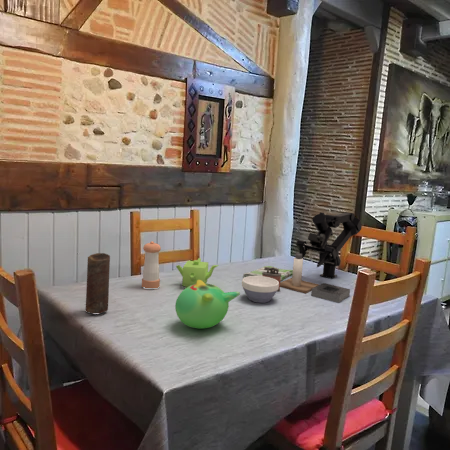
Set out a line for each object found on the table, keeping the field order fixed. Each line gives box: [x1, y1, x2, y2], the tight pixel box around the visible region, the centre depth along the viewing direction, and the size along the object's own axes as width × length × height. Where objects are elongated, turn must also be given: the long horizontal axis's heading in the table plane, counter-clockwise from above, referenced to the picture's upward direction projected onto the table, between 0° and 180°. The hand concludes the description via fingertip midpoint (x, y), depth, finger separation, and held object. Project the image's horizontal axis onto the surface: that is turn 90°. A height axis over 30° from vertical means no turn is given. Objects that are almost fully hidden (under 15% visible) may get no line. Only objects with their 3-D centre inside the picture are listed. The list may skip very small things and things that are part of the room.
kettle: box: [175, 257, 219, 289], centre depth 184 cm, size 15×14×11 cm
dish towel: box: [242, 265, 293, 282], centre depth 208 cm, size 17×23×4 cm
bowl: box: [241, 276, 279, 304], centre depth 172 cm, size 14×14×8 cm
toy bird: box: [174, 280, 241, 330], centre depth 141 cm, size 18×17×15 cm
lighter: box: [262, 266, 281, 293], centre depth 185 cm, size 8×3×10 cm, turn 84°
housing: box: [310, 282, 351, 304], centre depth 183 cm, size 12×12×3 cm
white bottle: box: [291, 252, 304, 286], centre depth 191 cm, size 4×4×14 cm
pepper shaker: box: [141, 240, 162, 288], centre depth 178 cm, size 7×7×19 cm
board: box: [280, 277, 320, 294], centre depth 194 cm, size 14×14×1 cm
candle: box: [85, 252, 111, 314], centre depth 147 cm, size 8×7×20 cm
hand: (308, 264), depth 197 cm, fingers open, 9 cm apart
